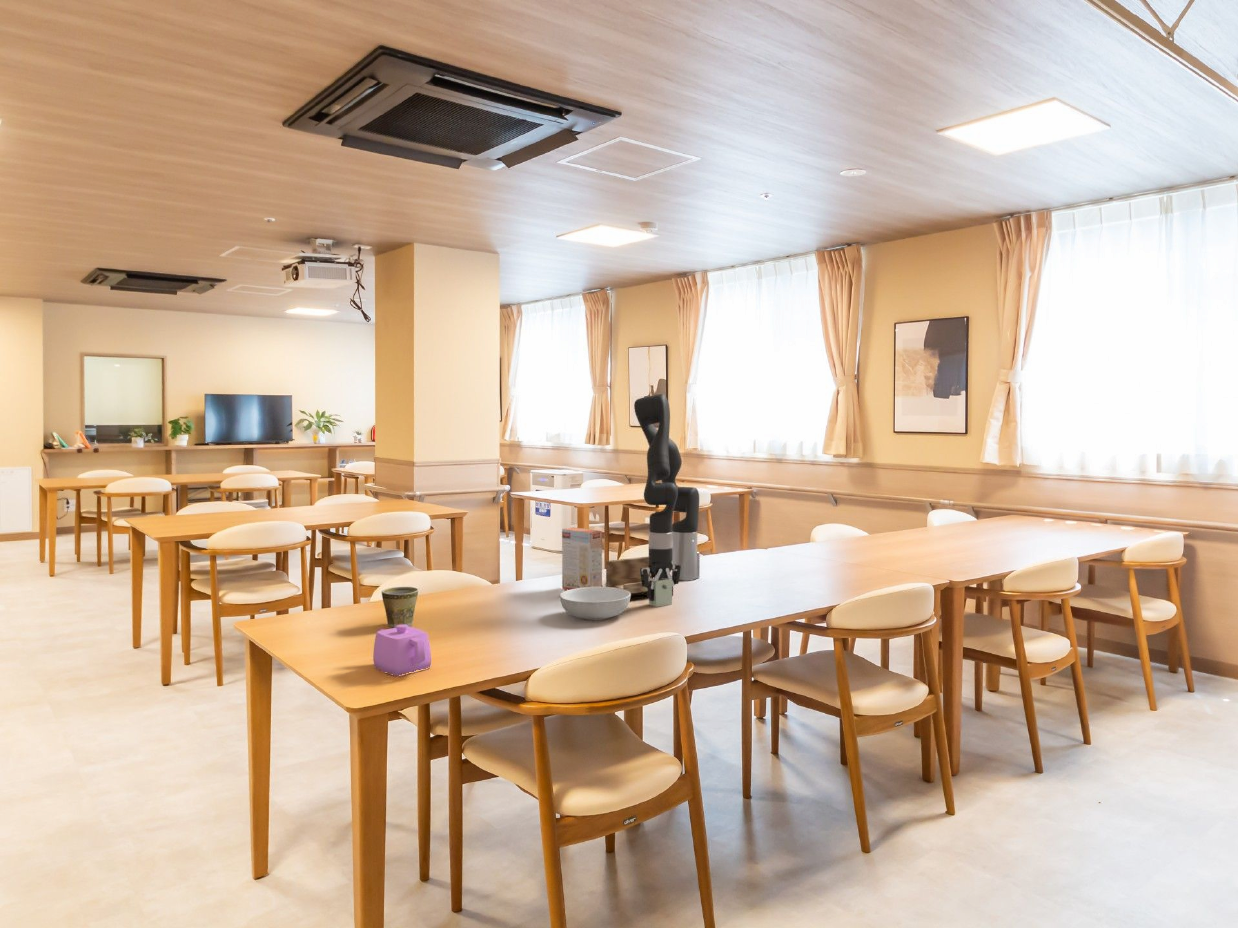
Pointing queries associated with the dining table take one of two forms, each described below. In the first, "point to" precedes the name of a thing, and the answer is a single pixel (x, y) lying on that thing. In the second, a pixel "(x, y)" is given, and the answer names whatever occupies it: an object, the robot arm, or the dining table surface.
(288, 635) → the dining table surface
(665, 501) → the robot arm
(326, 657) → the dining table surface
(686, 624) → the dining table surface
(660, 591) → the cabinet block
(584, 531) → the cracker box
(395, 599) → the ceramic cup
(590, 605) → the serving bowl
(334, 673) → the dining table surface
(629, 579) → the wooden stand
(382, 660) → the teapot
